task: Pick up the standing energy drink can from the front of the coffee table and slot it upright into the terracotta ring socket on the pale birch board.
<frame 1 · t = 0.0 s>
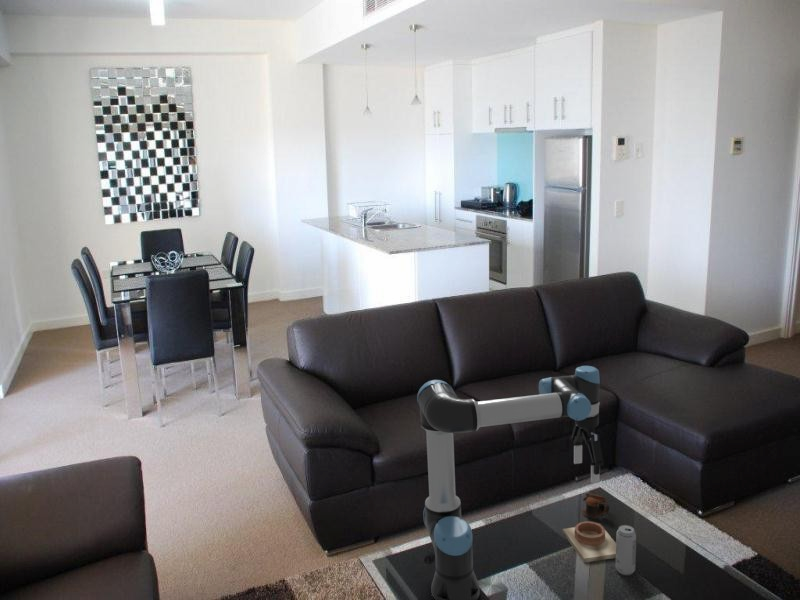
hand: (586, 472, 229), 28 cm above the table, tool pointing down, fingers open, 13 cm apart
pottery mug: (596, 513, 256), on the table
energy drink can: (625, 571, 222), on the table
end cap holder: (592, 544, 237), on the table
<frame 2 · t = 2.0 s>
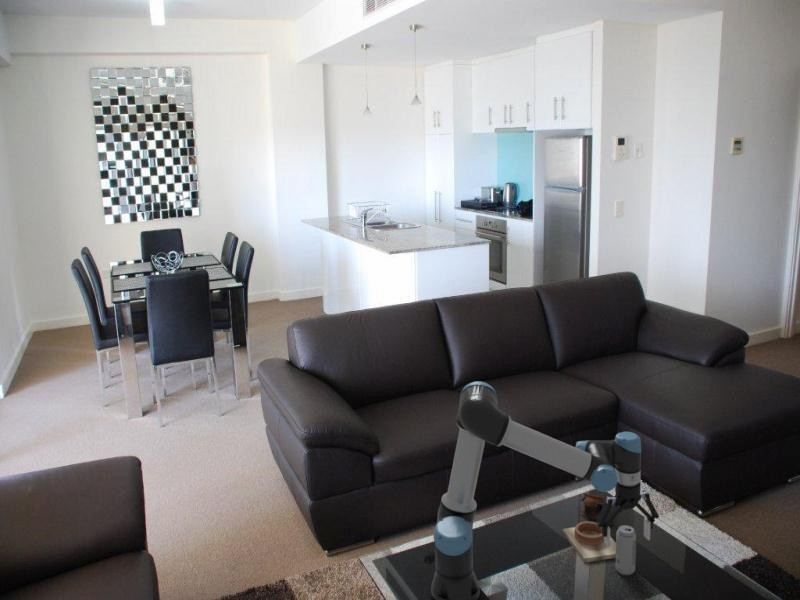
hand: (627, 541, 220), 11 cm above the table, tool pointing down, fingers open, 13 cm apart
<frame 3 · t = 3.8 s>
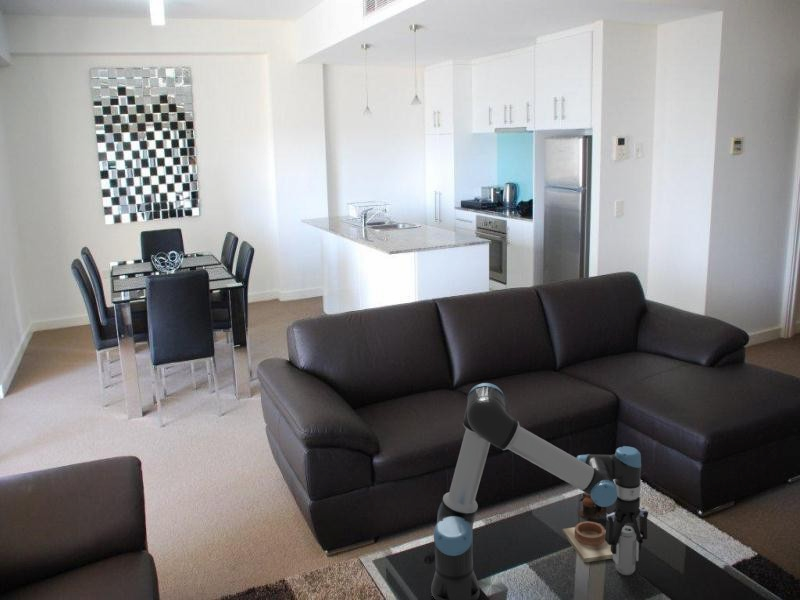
hand: (625, 559, 221), 4 cm above the table, tool pointing down, fingers closed on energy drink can, 6 cm apart
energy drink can: (625, 571, 222), on the table, touching gripper
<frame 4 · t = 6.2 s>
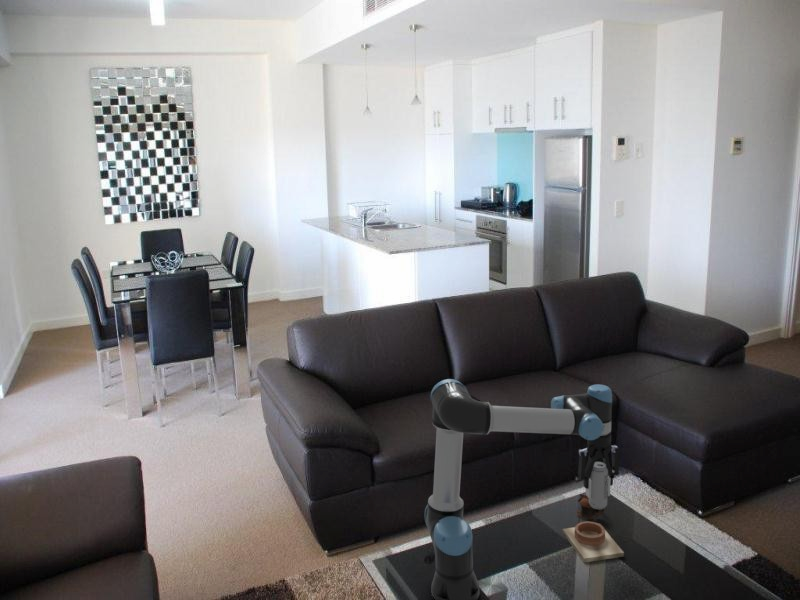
hand: (597, 495, 231), 20 cm above the table, tool pointing down, fingers closed on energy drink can, 6 cm apart
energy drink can: (597, 506, 232), point 16 cm above the table, touching gripper
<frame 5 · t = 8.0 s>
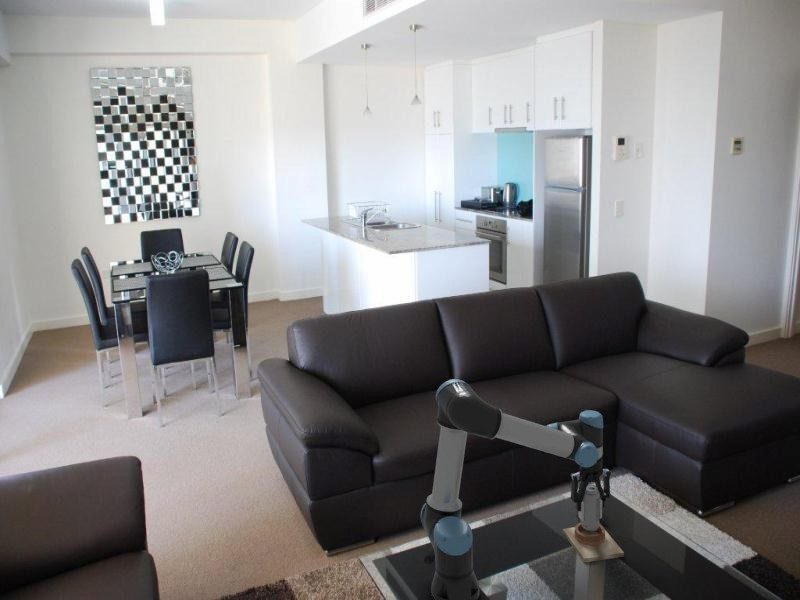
hand: (590, 517, 237), 9 cm above the table, tool pointing down, fingers closed on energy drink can, 6 cm apart
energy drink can: (590, 527, 238), point 5 cm above the table, touching gripper
when the fingers open (7 cm above the table, at t = 9.1 s): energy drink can drops 1 cm, resting on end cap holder.
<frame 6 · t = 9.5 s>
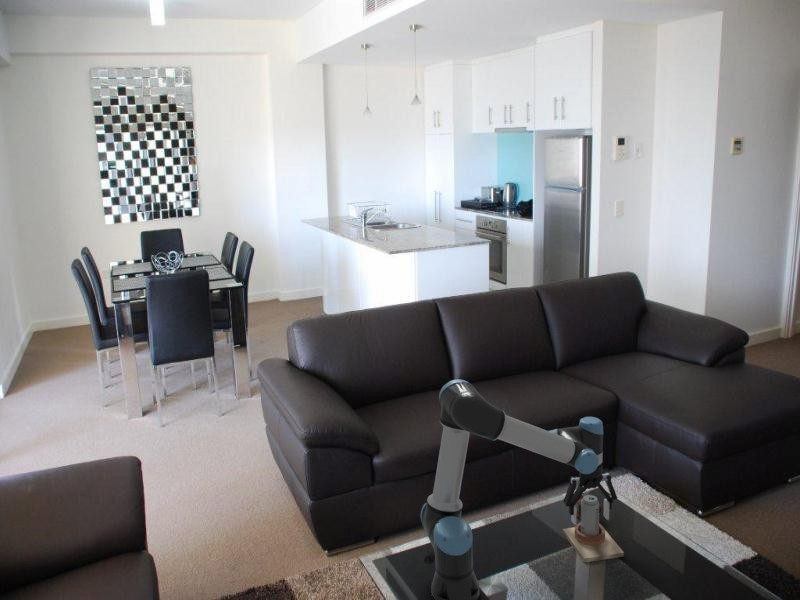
hand: (590, 520, 237), 8 cm above the table, tool pointing down, fingers open, 11 cm apart
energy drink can: (589, 537, 239), point 1 cm above the table, touching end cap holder
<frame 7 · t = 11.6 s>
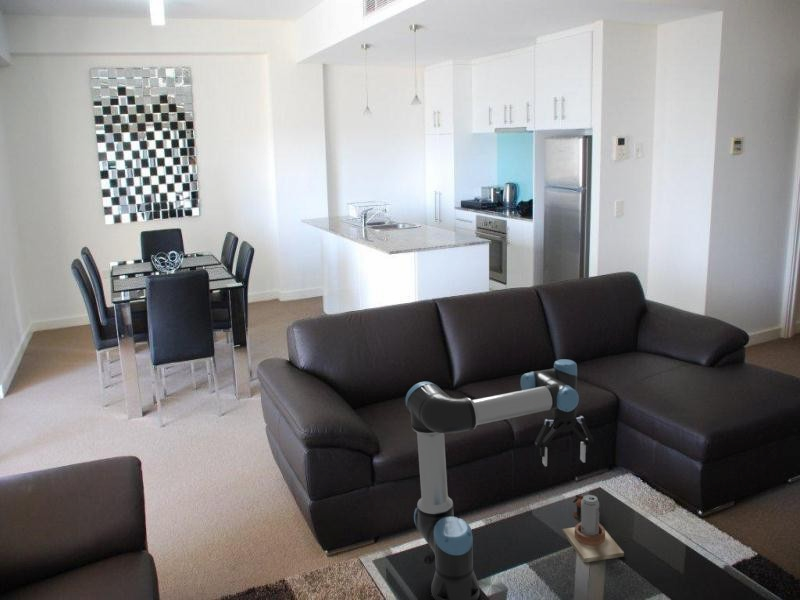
hand: (563, 462, 237), 28 cm above the table, tool pointing down, fingers open, 13 cm apart
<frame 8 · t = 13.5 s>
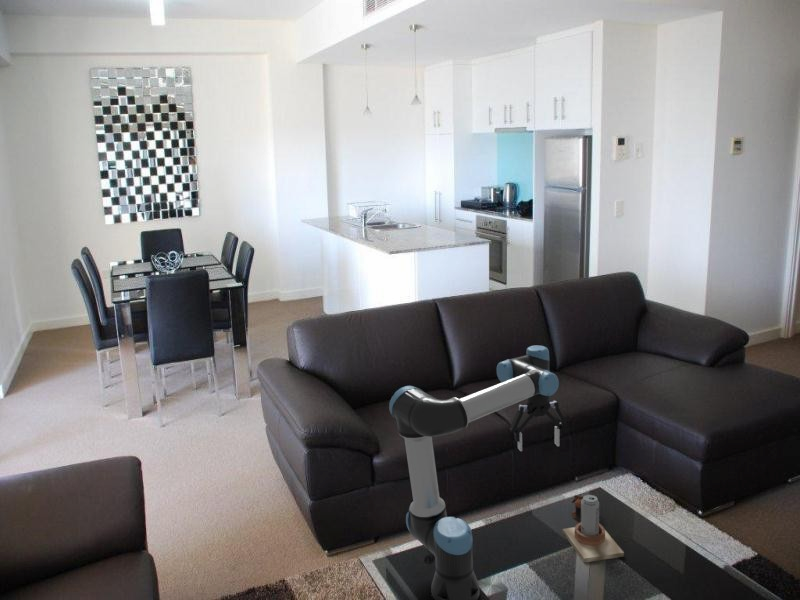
hand: (538, 447, 241), 32 cm above the table, tool pointing down, fingers open, 13 cm apart
at the end: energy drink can 0.0 cm from the target spot on the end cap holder, point 1.3 cm above the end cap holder's base; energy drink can tilted 0°; the gripper is holding nothing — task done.
